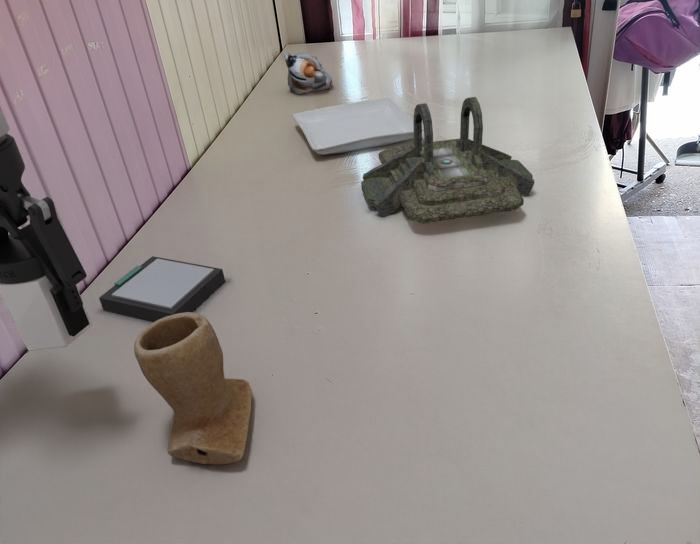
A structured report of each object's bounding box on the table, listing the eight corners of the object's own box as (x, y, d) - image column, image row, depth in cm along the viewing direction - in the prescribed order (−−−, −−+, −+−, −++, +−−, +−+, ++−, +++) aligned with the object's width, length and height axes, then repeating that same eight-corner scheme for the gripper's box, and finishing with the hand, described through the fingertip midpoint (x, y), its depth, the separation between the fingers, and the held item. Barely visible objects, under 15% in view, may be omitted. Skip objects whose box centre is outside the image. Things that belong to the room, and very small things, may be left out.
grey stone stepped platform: (559, 217, 118) (573, 119, 107) (382, 243, 116) (377, 145, 104) (496, 150, 145) (502, 66, 134) (352, 169, 143) (345, 86, 132)
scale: (102, 310, 105) (97, 295, 103) (155, 267, 115) (151, 253, 113) (176, 327, 100) (171, 312, 98) (225, 281, 109) (221, 266, 108)
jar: (15, 326, 81) (-27, 243, 73) (78, 303, 84) (45, 220, 76) (31, 361, 75) (-12, 274, 67) (99, 334, 78) (65, 249, 70)
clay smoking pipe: (173, 391, 87) (143, 300, 78) (258, 385, 87) (238, 293, 78) (147, 476, 76) (107, 381, 66) (246, 469, 75) (220, 373, 66)
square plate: (292, 127, 169) (290, 112, 166) (390, 110, 173) (389, 95, 171) (314, 163, 148) (312, 146, 145) (425, 143, 152) (425, 127, 150)
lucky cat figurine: (341, 85, 195) (336, 48, 182) (318, 111, 192) (311, 75, 179) (303, 66, 199) (295, 28, 186) (279, 91, 196) (270, 55, 183)
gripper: (76, 137, 63) (138, 322, 77) (-64, 121, 71) (17, 291, 85) (17, 167, 58) (96, 359, 72) (-127, 145, 66) (-30, 323, 80)
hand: (53, 322), depth 79 cm, fingers closed on jar, 8 cm apart
